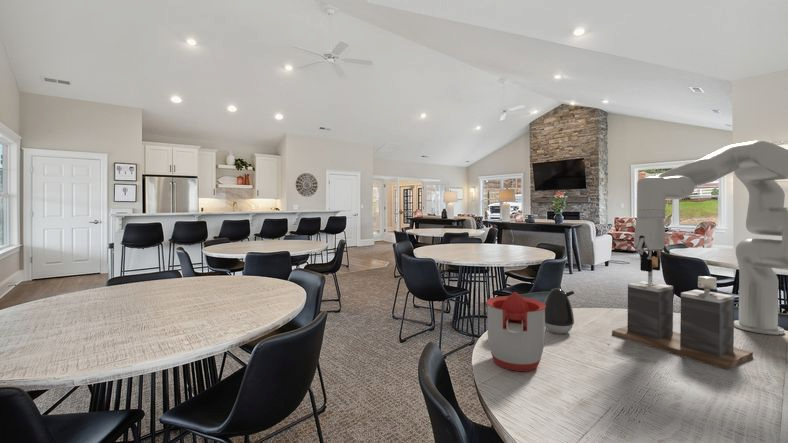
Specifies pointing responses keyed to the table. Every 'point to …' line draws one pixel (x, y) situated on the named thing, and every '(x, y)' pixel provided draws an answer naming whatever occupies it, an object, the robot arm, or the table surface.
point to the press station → (684, 324)
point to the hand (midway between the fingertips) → (650, 269)
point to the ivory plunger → (707, 283)
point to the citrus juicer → (516, 331)
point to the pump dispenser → (558, 311)
